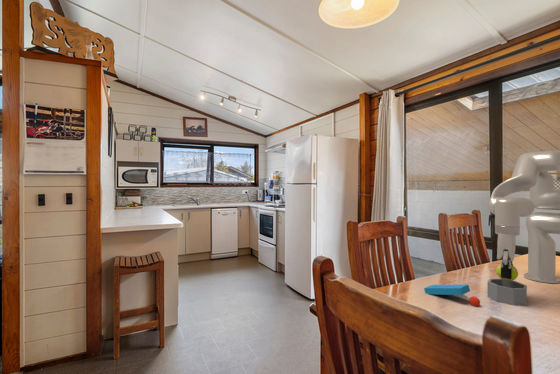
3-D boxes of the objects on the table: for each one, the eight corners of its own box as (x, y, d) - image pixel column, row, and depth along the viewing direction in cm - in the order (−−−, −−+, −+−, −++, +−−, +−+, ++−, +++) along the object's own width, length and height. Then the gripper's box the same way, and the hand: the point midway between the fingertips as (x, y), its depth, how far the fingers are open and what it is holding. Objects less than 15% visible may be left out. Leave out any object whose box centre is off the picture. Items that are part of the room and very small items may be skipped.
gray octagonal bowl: (490, 291, 119) (490, 276, 119) (527, 298, 111) (527, 283, 111) (486, 299, 110) (486, 283, 110) (526, 307, 102) (526, 291, 102)
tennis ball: (512, 284, 106) (512, 266, 106) (492, 279, 112) (492, 262, 112) (521, 281, 109) (521, 264, 109) (501, 277, 115) (501, 260, 115)
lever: (428, 306, 116) (476, 308, 101) (423, 288, 117) (470, 288, 103) (437, 302, 119) (484, 304, 105) (432, 284, 121) (478, 284, 107)
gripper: (497, 226, 120) (497, 269, 120) (492, 232, 107) (492, 279, 107) (520, 228, 115) (520, 272, 115) (518, 234, 102) (518, 283, 102)
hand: (507, 275), depth 111 cm, fingers open, 7 cm apart
